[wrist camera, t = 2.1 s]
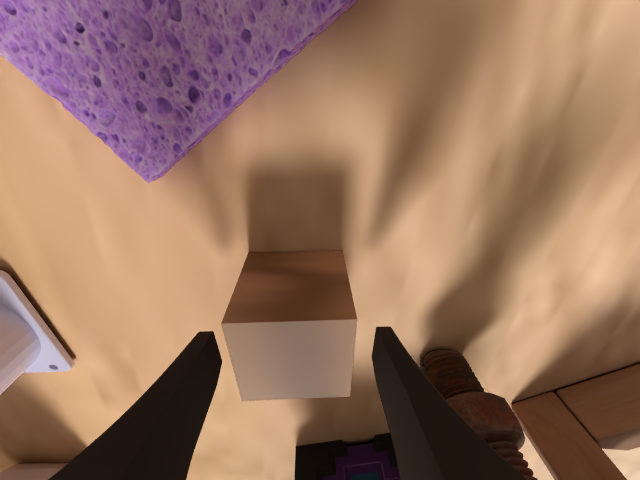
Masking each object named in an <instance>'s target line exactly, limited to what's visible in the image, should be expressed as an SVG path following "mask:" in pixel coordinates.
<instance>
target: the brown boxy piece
mask: <svg viewBox="0 0 640 480" xmlns="http://www.w3.org/2000/svg"><path fill="white" fill-rule="evenodd" d="M221 325H222V328H223V332H224V336H225V340H226V343H227V347H228V351H229V354H230V358H231V362H232V366H233V369H234V373H235V377H236V381H237V384H238V388H239V392H240V396H241V399H242V401H253V400H278V399H303V398H328V397H350V390H351V380H352V369H353V359H354V348H355V338H356V327H357V316H356V312H355V307H354V302H353V298H352V293H351V288H350V284H349V279H348V275H347V270H346V265H345V261H344V256H343V252H342V250H333V251H288V252H249V253H248V256H247V258H246V261H245V263H244V266H243V269H242V271H241V274H240V276H239V279H238V282H237V284H236V287H235V289H234V292H233V294H232V297H231V300H230V302H229V305H228V307H227V310H226V313H225V315H224V318H223V320H222V323H221Z"/></svg>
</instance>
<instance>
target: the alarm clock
mask: <svg viewBox="0 0 640 480" xmlns="http://www.w3.org/2000/svg"><path fill="white" fill-rule="evenodd" d="M67 464H68V463H21V464H18V465H15V466H13V467H10V468H8V469H6V470H4V471H2V472H1V473H0V480H48V479H49V478H50V477H52V476H53V475H54V474H56V473H57V472H58V471H59V470H61V469H62V468H63V467H64V466H66V465H67Z"/></svg>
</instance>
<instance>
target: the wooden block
mask: <svg viewBox="0 0 640 480" xmlns="http://www.w3.org/2000/svg"><path fill="white" fill-rule="evenodd" d="M556 394H557V395H556ZM556 394H554V393H553V392H548V393H545V394H542V395H538V396H535V397H532V398H529V399H526V400H523V401H520V402H517V403H514V404H513V405H512V410H513V412H514V414H515V416H516V417H517V419H518V420H519V423H520V425H521V427H522V429H523V431H524V432H525V434H526V436H527V437H528V439H529V440H530V442H531V443H532V445H533V446H534V448H535V450H536V451H537V453H538V454H539V456H540V457H541V459H542V461H543V462H544V464H545V465H546V467H547V468H548V470H549V471H550V473H551V475H552V476H553V478H554V479H555V480H627V479H626V478H625V477H624V476H623V474H622V473H621V472H620V471H619V469H618V468H617V467H616V466H615V465H614V463H613V462H612V461H611V460H610V459H609V457H608V456H607V455H606V454H605V453H604V451H603V450H602V449H601V448H603V449H616V450H630V449H634V448H638V447H640V364H637V365H634V366H631V367H628V368H625V369H622V370H619V371H616V372H613V373H609V374H606V375H603V376H600V377H597V378H594V379H591V380H588V381H585V382H581V383H578V384H575V385H572V386H569V387H566V388H563V389H560V390H557V391H556Z"/></svg>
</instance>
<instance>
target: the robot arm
mask: <svg viewBox="0 0 640 480" xmlns="http://www.w3.org/2000/svg"><path fill="white" fill-rule="evenodd" d="M372 361H373V367H374V373H375V378H376V383H377V387H378V390H379V394H380V398H381V401H382V405H383V408H384V412H385V415H386V419H387V423H388V426H389V430H390V433H391V437H392V441H393V445H394V449H395V454H396V459H397V464H398V469H399V474H400V479H401V480H527V479H526V478H525V477H524V476H523V475H522V474H520V473H519V472H518V471H517V470H516V469H515V468H514V467H513V466H511V465H510V464H509V463H508V462H507V461H506V460H505V459H504V458H503V457H502V456H501V455H499V454H498V453H497V452H496V451H495V450H494V449H493V448H492V447H491V446H490V445H489V444H488V443H487V442H486V441H485V440H484V439H482V438H481V437H480V436H479V435H478V434H477V433H476V432H475V431H474V430H473V429H472V428H471V427H470V426H469V425H468V424H467V423H466V422H465V420H464V419H463V418H462V417H461V416H460V415H459V414H458V413H457V412H456V411H455V410H454V409H453V408H452V407H451V405H450V404H449V403H448V402H447V401H446V400H445V399H444V398H443V396H442V395H441V394H440V393H439V392H438V391H437V389H436V388H435V387H434V386H433V385H432V383H431V382H430V381H429V380H428V378H427V377H426V376H425V375H424V373H423V372H422V371H421V369H420V368H419V367H418V365H417V364H416V363H415V361H414V360H413V359H412V357H411V356H410V355H409V353H408V352H407V350H406V349H405V348H404V346H403V345H402V343H401V342H400V340H399V339H398V337H397V336H396V334H395V333H394V331H393V329H392V328H391V327H376V332H375V339H374V346H373V352H372ZM221 365H222V359H221V356H220V352H219V349H218V346H217V342H216V339H215V335H214V332H213V331H210V332H199V333H198V334H197V335H196V336H195V337H194V338H193V339H192V340H191V342H190V343H189V344H188V345H187V346H186V348H185V349H184V350H183V351H182V352H181V353H180V355H179V356H178V357H177V358H176V359H175V360H174V362H173V363H172V364H171V365H170V366H169V367H168V368H167V369H166V371H165V372H164V373H163V374H162V375H161V376H160V377H159V378H158V379H157V381H156V382H155V383H154V384H153V385H152V386H151V387H150V388H149V389H148V390H147V391H146V392H145V393H144V394H143V395H142V396H141V397H140V398H139V399H138V400H137V401H136V402H135V403H134V404H133V405H132V406H131V407H130V408H129V409H128V410H127V411H126V412H125V413H124V414H123V415H122V416H121V417H120V418H119V419H118V420H117V421H116V422H115V423H114V424H113V425H112V426H110V427H109V428H108V429H107V430H106V431H105V432H104V433H103V434H102V435H101V436H99V437H98V438H97V439H96V440H95V441H94V442H93V443H91V444H90V445H89V446H88V447H87V448H86V449H85V450H83V451H82V452H81V453H80V454H79V455H78V456H76V457H75V458H74V459H73V460H72V461H70V462H69V463H68V464H67V465H66V466H64V467H63V468H62V469H61V470H59V471H58V472H57V473H56V474H54V475H53V476H52V477H50V478H49V479H48V480H186V477H187V474H188V470H189V466H190V462H191V459H192V455H193V452H194V449H195V446H196V443H197V440H198V437H199V435H200V432H201V429H202V426H203V423H204V420H205V418H206V415H207V412H208V409H209V406H210V403H211V401H212V398H213V395H214V392H215V389H216V386H217V382H218V378H219V374H220V369H221ZM73 366H74V361H73V360H72V358H71V357H70V356H69V354H68V353H67V352H66V350H65V349H64V348H63V346H62V345H61V343H60V342H59V341H58V339H57V338H56V337H55V335H54V334H53V333H52V331H51V330H50V329H49V327H48V326H47V325H46V323H45V322H44V320H43V319H42V318H41V316H40V315H39V314H38V312H37V311H36V310H35V308H34V307H33V306H32V304H31V303H30V302H29V300H28V299H27V298H26V296H25V295H24V293H23V292H22V291H21V289H20V288H19V287H18V285H17V284H16V283H15V281H14V280H13V279H12V277H11V276H10V275H9V274H8V273H6V272H5V271H2V270H0V395H1V394H2V393H3V392H4V391H5V390H6V389H7V388H8V387H9V386H10V385H11V384H12V383H13V382H14V381H15V380H16V379H17V378H18V377H19V376H20V375H21V374H22V373H31V372H59V371H69V370H70V369H71V368H72V367H73Z"/></svg>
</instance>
